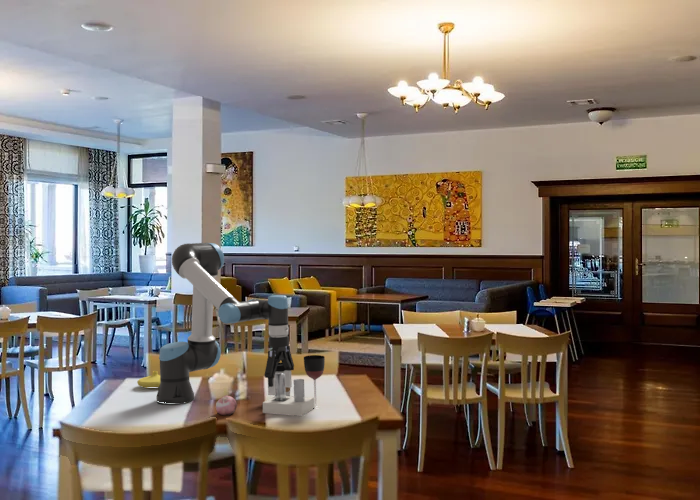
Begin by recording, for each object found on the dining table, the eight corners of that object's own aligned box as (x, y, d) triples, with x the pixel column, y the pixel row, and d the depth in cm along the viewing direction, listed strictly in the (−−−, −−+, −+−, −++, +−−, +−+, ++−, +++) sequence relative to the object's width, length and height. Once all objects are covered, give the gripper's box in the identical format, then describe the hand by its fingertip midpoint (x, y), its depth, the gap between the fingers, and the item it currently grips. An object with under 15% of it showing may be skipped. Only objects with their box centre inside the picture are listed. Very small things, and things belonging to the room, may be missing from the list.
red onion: (221, 419, 261) (214, 402, 261) (217, 417, 268) (210, 399, 268) (241, 410, 264) (234, 392, 264) (236, 407, 271) (229, 390, 271)
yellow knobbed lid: (158, 382, 328) (157, 367, 328) (180, 385, 319) (180, 370, 319) (129, 388, 315) (129, 372, 315) (152, 392, 306) (152, 376, 306)
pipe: (273, 410, 269) (272, 374, 268) (278, 408, 272) (277, 372, 272) (283, 411, 267) (282, 375, 267) (287, 409, 271) (286, 372, 271)
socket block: (262, 413, 266) (262, 381, 266) (277, 405, 277) (276, 375, 277) (301, 416, 260) (300, 383, 260) (314, 408, 271) (313, 377, 271)
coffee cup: (289, 402, 282) (288, 365, 281) (269, 401, 283) (268, 364, 283) (295, 397, 290) (294, 361, 289) (275, 397, 291) (274, 361, 291)
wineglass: (310, 412, 267) (309, 359, 266) (301, 407, 275) (300, 356, 274) (329, 409, 271) (328, 357, 270) (320, 404, 278) (318, 354, 278)
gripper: (272, 341, 256) (273, 399, 257) (301, 331, 279) (303, 384, 280) (254, 340, 259) (255, 397, 259) (284, 330, 282) (286, 383, 283)
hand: (280, 391), depth 270 cm, fingers open, 13 cm apart
